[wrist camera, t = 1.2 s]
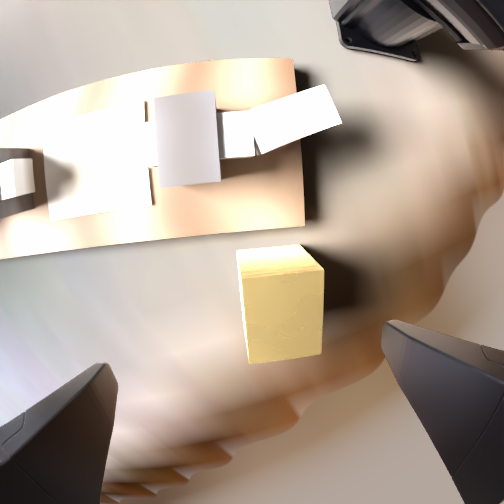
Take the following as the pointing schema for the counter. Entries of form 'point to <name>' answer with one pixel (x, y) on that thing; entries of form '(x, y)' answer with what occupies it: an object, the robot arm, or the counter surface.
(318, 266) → the block
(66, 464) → the robot arm
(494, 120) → the counter surface
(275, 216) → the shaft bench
